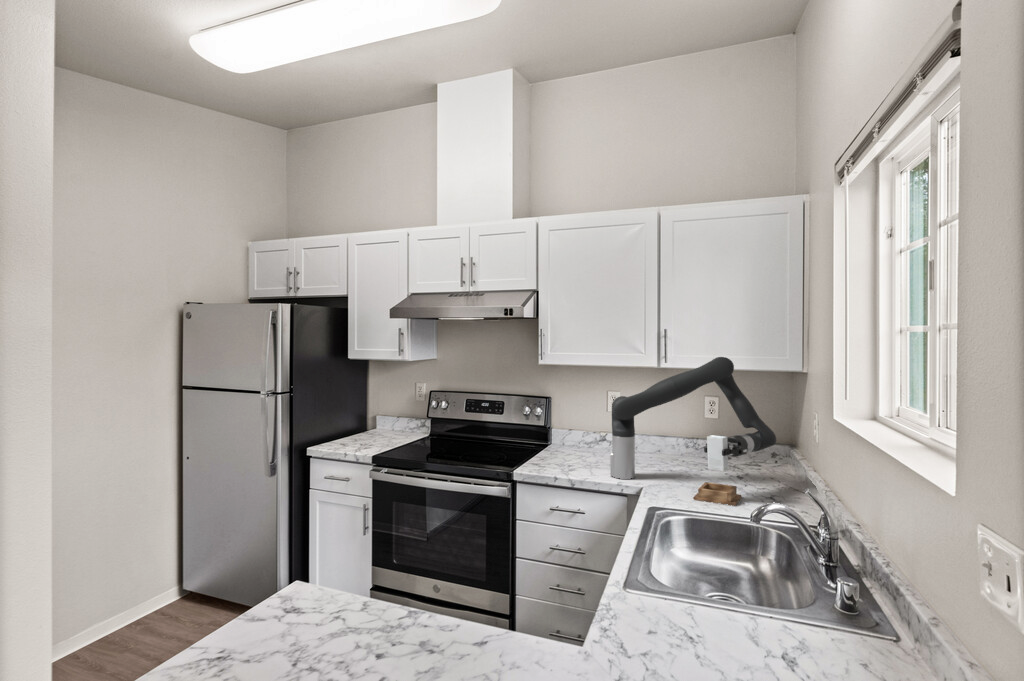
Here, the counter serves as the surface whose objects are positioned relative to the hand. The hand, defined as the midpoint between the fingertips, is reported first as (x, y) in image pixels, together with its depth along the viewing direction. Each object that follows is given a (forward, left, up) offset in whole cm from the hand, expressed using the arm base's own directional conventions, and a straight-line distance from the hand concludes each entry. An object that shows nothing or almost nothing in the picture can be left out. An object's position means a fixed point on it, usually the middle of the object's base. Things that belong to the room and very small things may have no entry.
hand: (714, 451), depth 197 cm
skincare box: (+1, +2, -7) cm, 8 cm away
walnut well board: (+1, +2, -17) cm, 17 cm away
